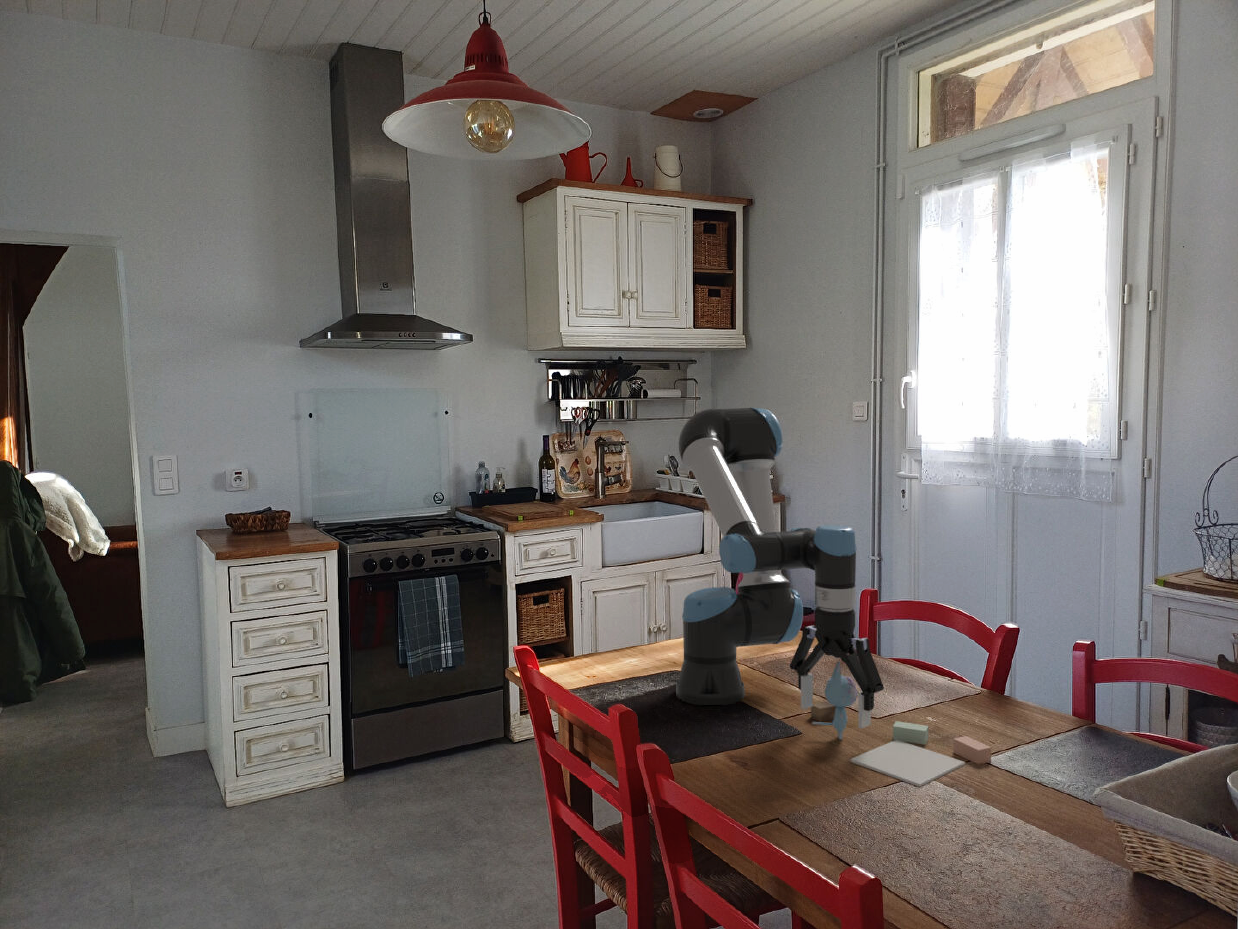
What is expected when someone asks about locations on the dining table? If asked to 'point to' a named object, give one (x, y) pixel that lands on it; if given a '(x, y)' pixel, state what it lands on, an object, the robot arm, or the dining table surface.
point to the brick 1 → (823, 711)
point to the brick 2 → (910, 732)
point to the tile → (908, 762)
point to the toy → (839, 698)
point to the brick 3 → (972, 750)
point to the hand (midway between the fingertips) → (834, 716)
